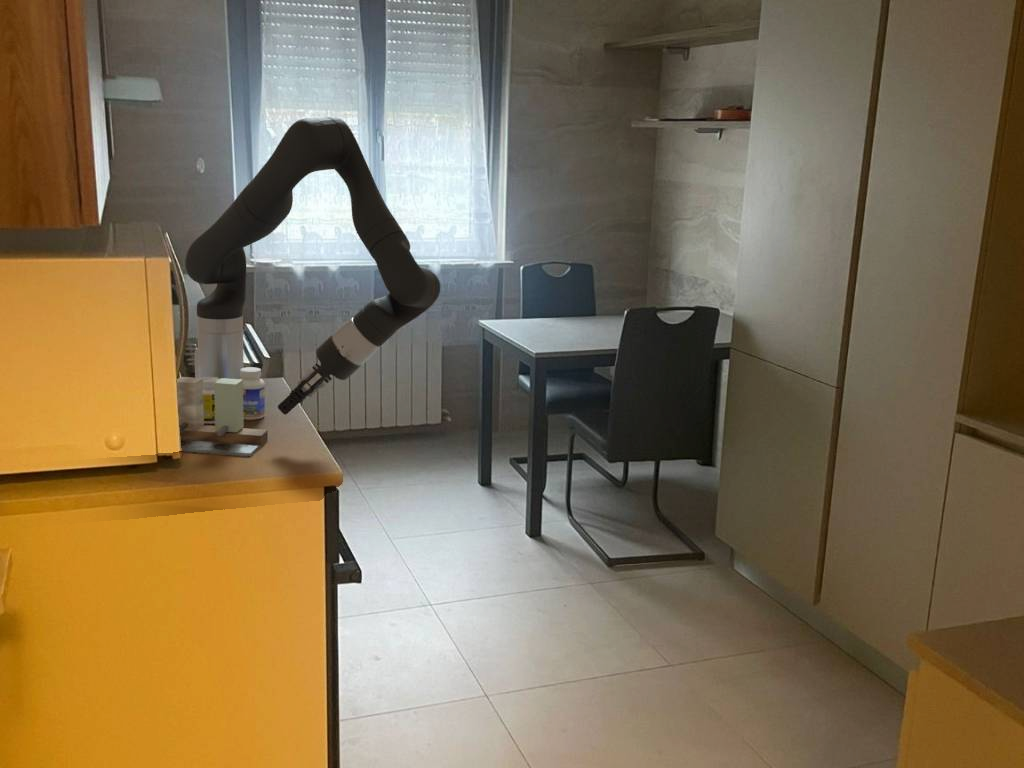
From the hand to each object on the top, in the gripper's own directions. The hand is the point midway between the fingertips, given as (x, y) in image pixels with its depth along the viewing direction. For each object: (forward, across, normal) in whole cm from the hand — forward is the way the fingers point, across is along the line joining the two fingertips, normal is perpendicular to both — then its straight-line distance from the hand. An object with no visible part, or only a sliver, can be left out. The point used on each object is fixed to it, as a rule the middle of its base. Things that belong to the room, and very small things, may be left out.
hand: (282, 410), depth 174 cm
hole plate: (+13, +5, -3) cm, 14 cm away
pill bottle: (+13, -16, -3) cm, 21 cm away
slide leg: (+10, +1, -4) cm, 11 cm away
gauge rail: (+13, +2, -3) cm, 13 cm away
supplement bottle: (+17, -11, -8) cm, 22 cm away
